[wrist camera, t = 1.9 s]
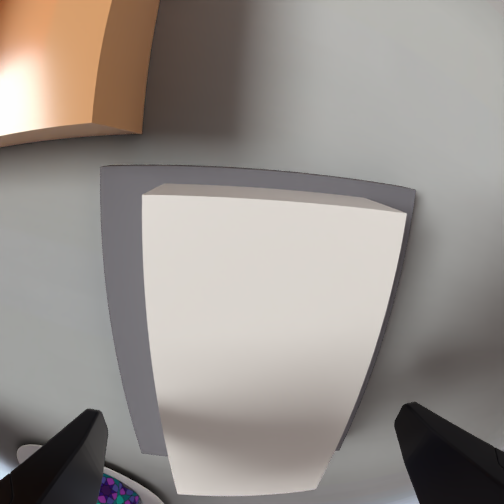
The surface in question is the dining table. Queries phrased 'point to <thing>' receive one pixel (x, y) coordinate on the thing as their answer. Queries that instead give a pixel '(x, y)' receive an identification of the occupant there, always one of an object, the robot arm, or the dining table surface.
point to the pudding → (107, 484)
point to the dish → (73, 68)
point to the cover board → (261, 327)
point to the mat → (132, 275)
